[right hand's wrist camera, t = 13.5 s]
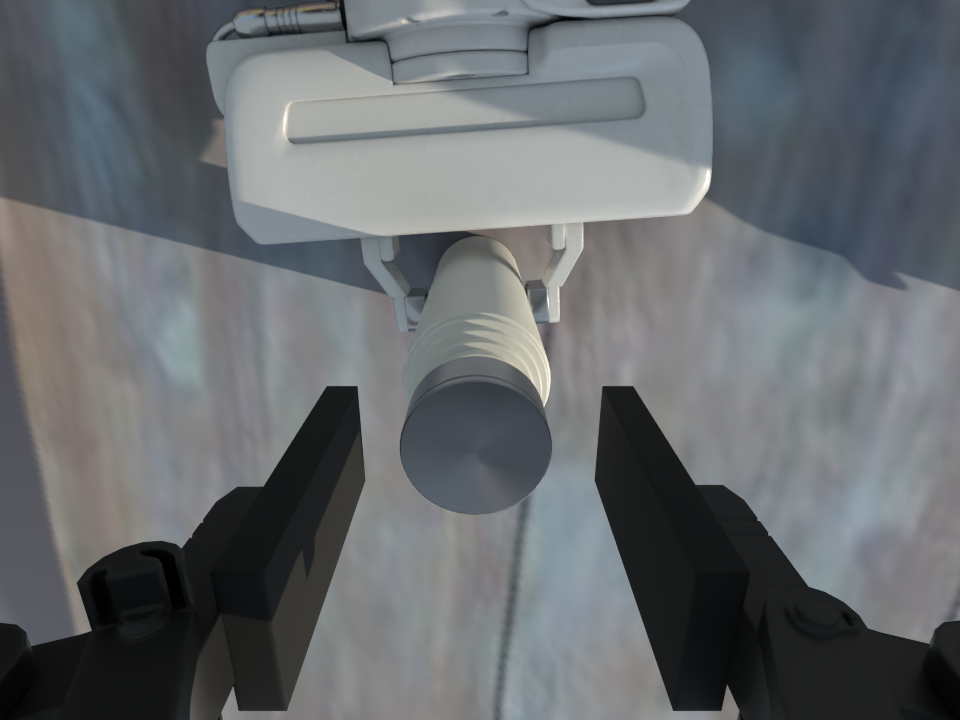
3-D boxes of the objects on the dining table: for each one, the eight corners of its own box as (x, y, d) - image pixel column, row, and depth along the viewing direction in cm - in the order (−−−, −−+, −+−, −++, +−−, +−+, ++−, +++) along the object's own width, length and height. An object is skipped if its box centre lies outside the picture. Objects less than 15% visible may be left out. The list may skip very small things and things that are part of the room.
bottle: (484, 218, 32) (492, 316, 13) (534, 283, 33) (605, 457, 15) (420, 270, 33) (343, 429, 14) (470, 331, 34) (461, 550, 16)
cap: (488, 327, 15) (489, 350, 13) (571, 429, 16) (581, 462, 14) (379, 408, 16) (368, 439, 14) (465, 500, 17) (463, 539, 15)
